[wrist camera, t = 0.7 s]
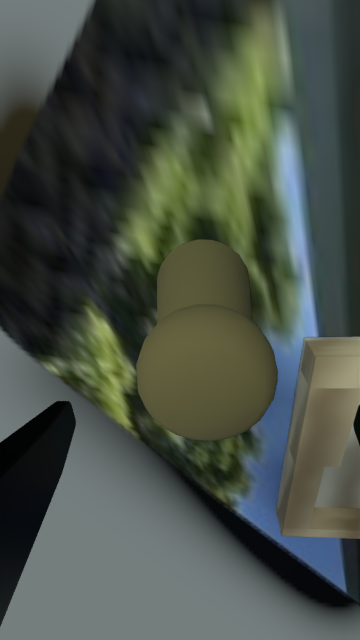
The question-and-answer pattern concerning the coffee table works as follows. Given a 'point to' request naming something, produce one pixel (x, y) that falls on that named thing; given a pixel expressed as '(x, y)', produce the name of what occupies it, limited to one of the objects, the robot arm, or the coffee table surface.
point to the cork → (205, 347)
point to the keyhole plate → (323, 444)
